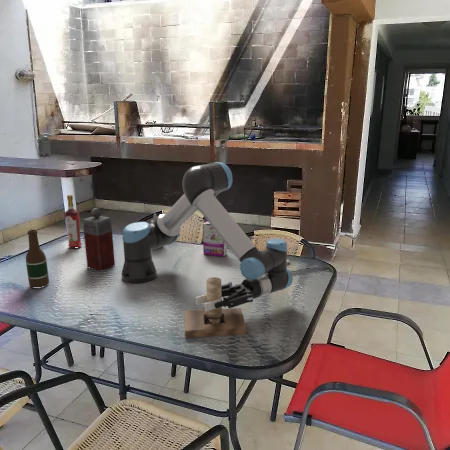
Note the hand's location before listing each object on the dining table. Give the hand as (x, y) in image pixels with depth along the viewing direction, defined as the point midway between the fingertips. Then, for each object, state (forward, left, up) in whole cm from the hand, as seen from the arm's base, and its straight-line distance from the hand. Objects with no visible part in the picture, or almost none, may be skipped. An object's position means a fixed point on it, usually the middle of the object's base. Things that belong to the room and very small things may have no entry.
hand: (200, 304), depth 142 cm
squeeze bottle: (-20, +89, -10) cm, 92 cm away
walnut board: (+5, +3, -9) cm, 11 cm away
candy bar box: (+10, +74, -10) cm, 75 cm away
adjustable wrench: (+35, +51, -10) cm, 63 cm away
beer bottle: (-66, +44, -10) cm, 80 cm away
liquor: (-63, +93, -10) cm, 113 cm away
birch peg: (+5, +3, -9) cm, 10 cm away
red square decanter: (-45, +64, -10) cm, 79 cm away
